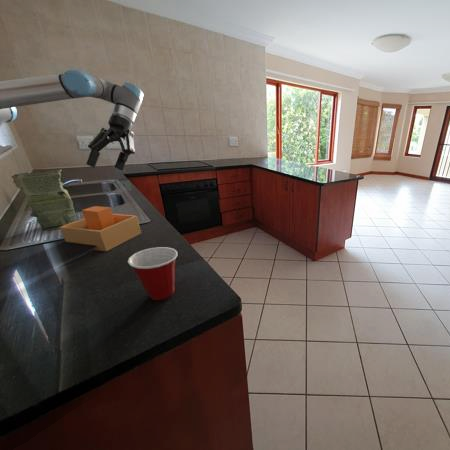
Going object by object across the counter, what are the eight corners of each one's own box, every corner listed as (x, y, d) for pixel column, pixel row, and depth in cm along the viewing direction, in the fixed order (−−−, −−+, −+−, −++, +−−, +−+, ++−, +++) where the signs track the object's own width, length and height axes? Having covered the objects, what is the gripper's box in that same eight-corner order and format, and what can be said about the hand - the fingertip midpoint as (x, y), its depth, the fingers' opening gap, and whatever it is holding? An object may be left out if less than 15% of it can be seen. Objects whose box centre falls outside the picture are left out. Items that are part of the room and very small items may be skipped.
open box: (67, 246, 88) (59, 227, 85) (106, 229, 102) (100, 212, 99) (106, 251, 85) (99, 231, 81) (141, 233, 99) (136, 215, 95)
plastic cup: (190, 295, 63) (182, 256, 59) (143, 313, 57) (130, 272, 52) (179, 276, 71) (171, 241, 66) (137, 290, 65) (125, 253, 60)
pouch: (35, 235, 95) (5, 173, 86) (56, 224, 106) (32, 168, 96) (67, 233, 98) (41, 172, 88) (85, 222, 108) (64, 167, 98)
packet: (92, 239, 91) (81, 210, 86) (104, 233, 96) (94, 205, 91) (107, 241, 90) (97, 211, 85) (119, 235, 94) (109, 207, 90)
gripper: (155, 127, 98) (138, 174, 93) (106, 124, 103) (88, 168, 98) (140, 115, 91) (122, 165, 86) (88, 112, 95) (68, 159, 91)
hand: (104, 167), depth 92 cm, fingers open, 13 cm apart
